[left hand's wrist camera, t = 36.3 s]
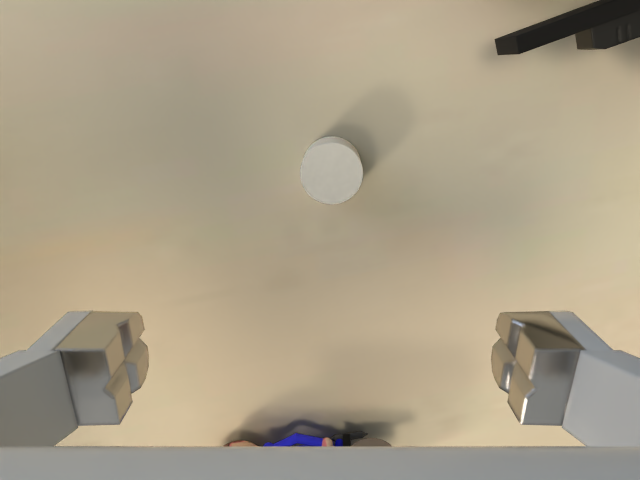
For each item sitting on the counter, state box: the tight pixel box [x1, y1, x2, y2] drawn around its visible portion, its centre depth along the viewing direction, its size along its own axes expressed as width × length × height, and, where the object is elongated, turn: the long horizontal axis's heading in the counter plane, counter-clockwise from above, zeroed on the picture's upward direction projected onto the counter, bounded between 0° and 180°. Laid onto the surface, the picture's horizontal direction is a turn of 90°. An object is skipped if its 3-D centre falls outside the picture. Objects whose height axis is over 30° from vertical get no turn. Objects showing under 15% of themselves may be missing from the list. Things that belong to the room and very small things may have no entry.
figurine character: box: [224, 431, 391, 446], centre depth 35 cm, size 7×8×15 cm
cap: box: [300, 136, 363, 204], centre depth 28 cm, size 4×4×2 cm
